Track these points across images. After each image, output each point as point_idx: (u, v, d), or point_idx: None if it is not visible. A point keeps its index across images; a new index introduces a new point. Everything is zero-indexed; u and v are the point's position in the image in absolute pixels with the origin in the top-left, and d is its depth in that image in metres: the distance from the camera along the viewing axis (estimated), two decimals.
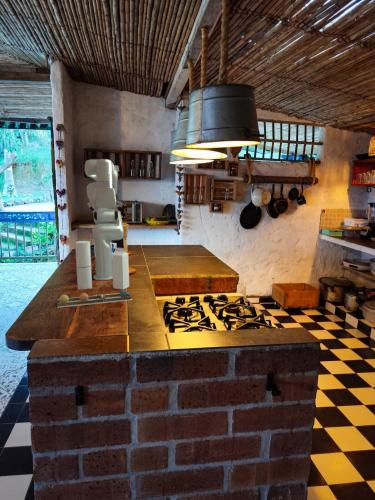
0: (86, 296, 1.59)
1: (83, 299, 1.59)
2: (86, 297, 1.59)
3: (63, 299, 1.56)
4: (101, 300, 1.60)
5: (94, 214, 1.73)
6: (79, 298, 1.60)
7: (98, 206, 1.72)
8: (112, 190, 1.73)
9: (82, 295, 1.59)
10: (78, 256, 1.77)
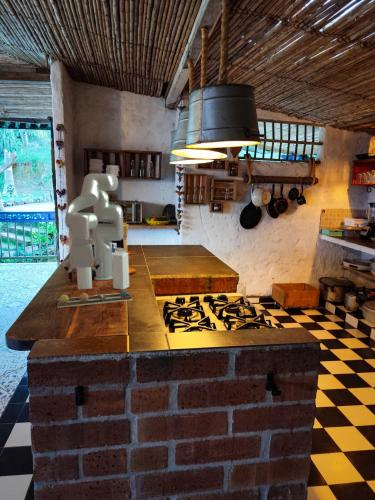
0: (86, 296, 1.59)
1: (83, 299, 1.59)
2: (86, 297, 1.59)
3: (63, 299, 1.56)
4: (101, 300, 1.60)
5: (69, 274, 1.55)
6: (79, 298, 1.60)
7: (73, 266, 1.54)
8: (89, 248, 1.55)
9: (82, 295, 1.59)
10: None
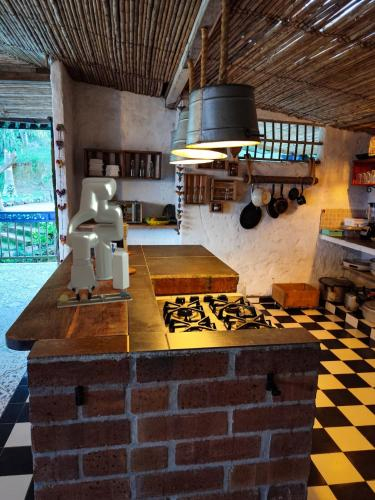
0: (86, 296, 1.59)
1: (83, 299, 1.59)
2: (86, 297, 1.59)
3: (63, 299, 1.56)
4: (101, 300, 1.60)
5: (76, 296, 1.59)
6: None
7: (74, 285, 1.56)
8: (90, 268, 1.57)
9: (82, 295, 1.59)
10: None
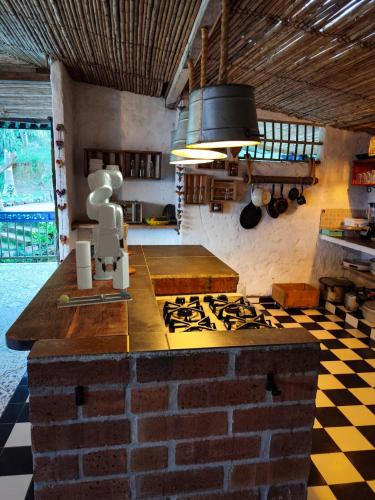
0: (112, 266, 1.61)
1: (109, 269, 1.60)
2: (112, 267, 1.61)
3: (63, 299, 1.56)
4: (101, 300, 1.60)
5: (102, 265, 1.60)
6: (105, 268, 1.61)
7: (101, 255, 1.58)
8: (116, 237, 1.58)
9: (108, 265, 1.60)
10: (78, 256, 1.77)
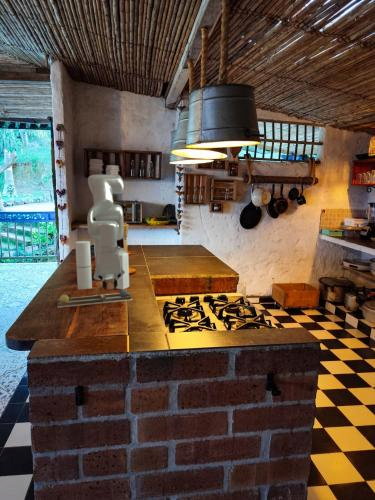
0: (112, 283, 1.62)
1: (109, 286, 1.61)
2: (112, 284, 1.62)
3: (63, 299, 1.56)
4: (101, 300, 1.60)
5: (103, 283, 1.61)
6: None
7: (101, 273, 1.59)
8: (117, 255, 1.60)
9: (108, 282, 1.62)
10: (78, 256, 1.77)
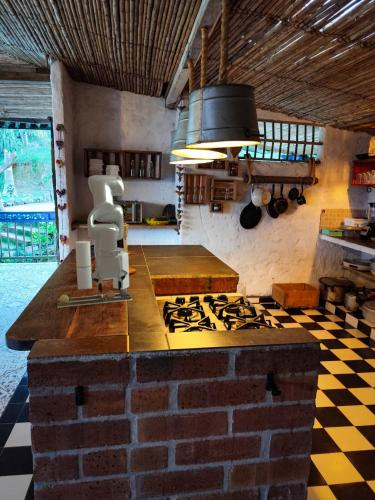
0: (113, 294, 1.63)
1: (110, 296, 1.63)
2: (113, 295, 1.63)
3: (63, 299, 1.56)
4: (101, 300, 1.60)
5: (99, 285, 1.61)
6: (106, 295, 1.63)
7: (102, 277, 1.60)
8: (117, 259, 1.60)
9: (109, 293, 1.63)
10: (78, 256, 1.77)
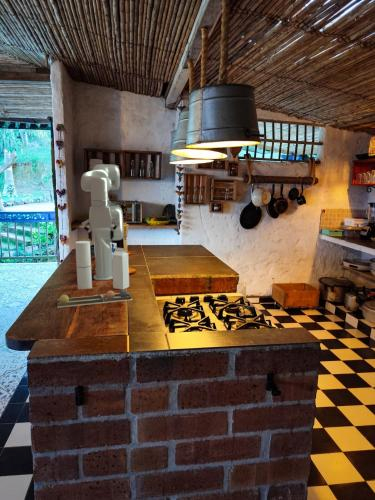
0: (112, 294, 1.63)
1: (110, 297, 1.63)
2: (112, 295, 1.63)
3: (63, 299, 1.56)
4: (101, 300, 1.60)
5: (89, 234, 1.65)
6: (106, 296, 1.63)
7: (93, 226, 1.64)
8: (107, 209, 1.64)
9: (109, 293, 1.63)
10: (78, 256, 1.77)
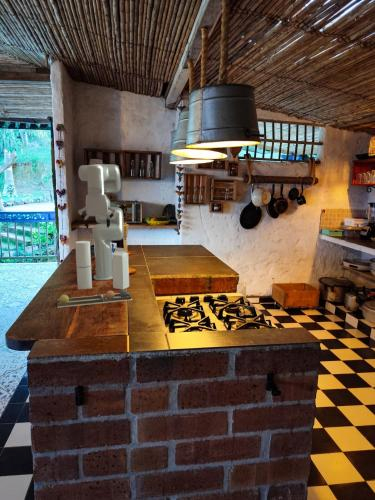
0: (112, 294, 1.63)
1: (110, 297, 1.62)
2: (112, 295, 1.63)
3: (63, 299, 1.56)
4: (101, 300, 1.60)
5: (85, 222, 1.67)
6: (106, 296, 1.63)
7: (89, 214, 1.66)
8: (104, 197, 1.66)
9: (109, 293, 1.63)
10: (78, 256, 1.77)
